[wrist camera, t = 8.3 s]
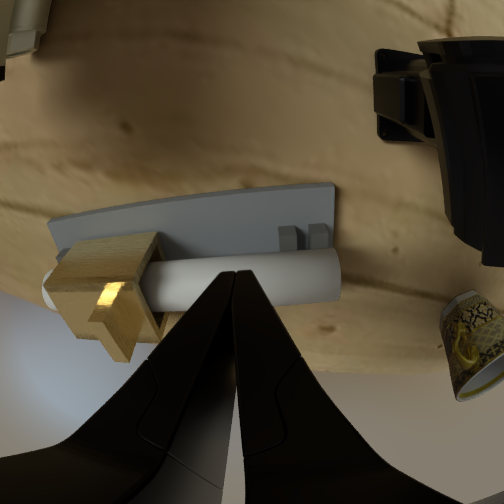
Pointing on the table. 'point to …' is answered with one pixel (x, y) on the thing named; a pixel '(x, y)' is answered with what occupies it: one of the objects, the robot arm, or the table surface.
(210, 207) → the pipe run
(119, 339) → the coupling
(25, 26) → the ball valve
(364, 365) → the table surface
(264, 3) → the table surface
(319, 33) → the table surface
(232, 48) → the table surface
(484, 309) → the ceramic cup
